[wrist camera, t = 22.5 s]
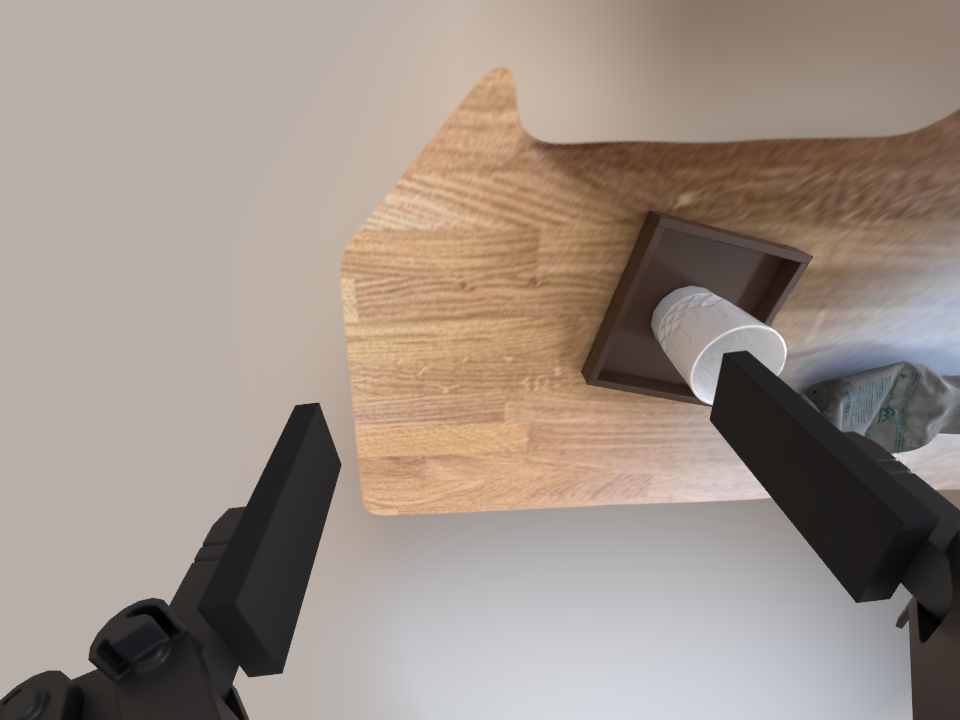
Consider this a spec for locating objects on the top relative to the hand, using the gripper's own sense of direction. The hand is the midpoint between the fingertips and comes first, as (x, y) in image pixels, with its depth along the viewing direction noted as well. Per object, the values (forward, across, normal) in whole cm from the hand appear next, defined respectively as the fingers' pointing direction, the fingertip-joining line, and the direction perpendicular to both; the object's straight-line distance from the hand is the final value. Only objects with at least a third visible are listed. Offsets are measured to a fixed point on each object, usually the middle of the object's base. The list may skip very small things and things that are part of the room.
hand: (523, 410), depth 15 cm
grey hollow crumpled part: (+29, +46, -27) cm, 60 cm away
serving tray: (+29, +20, -13) cm, 37 cm away
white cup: (+28, +20, -13) cm, 37 cm away
